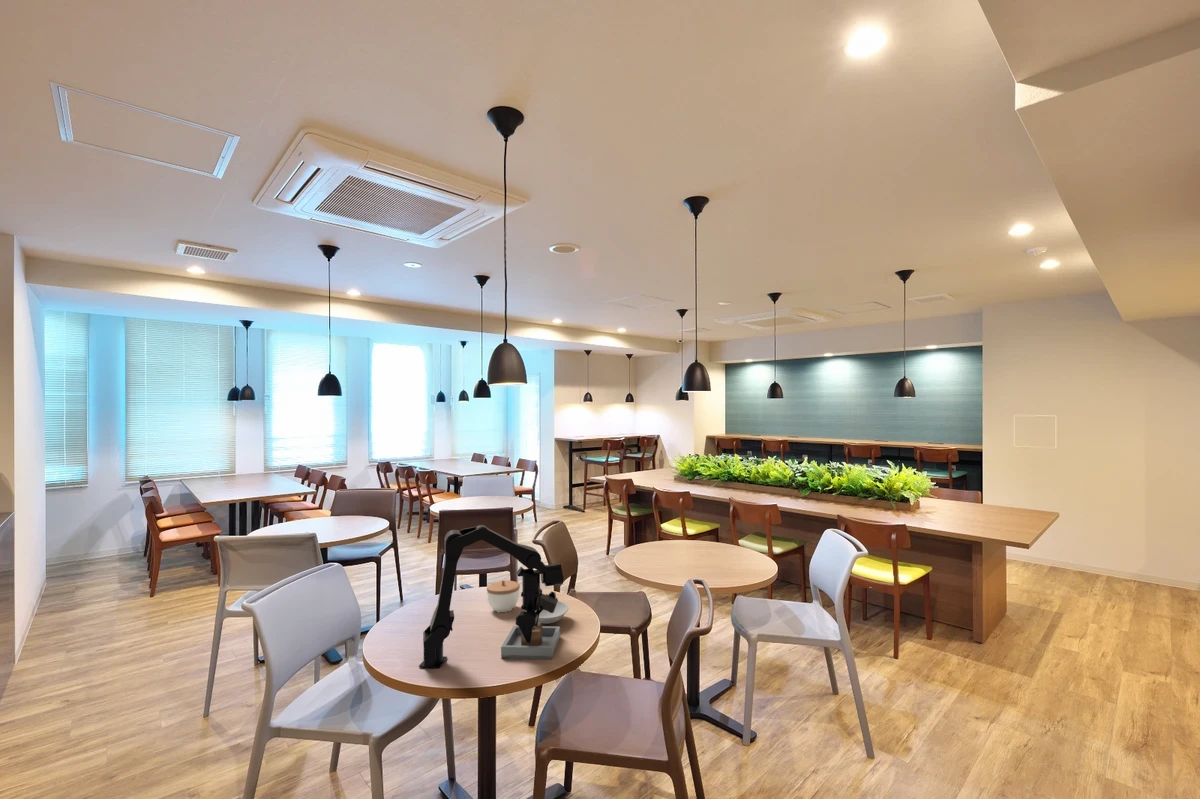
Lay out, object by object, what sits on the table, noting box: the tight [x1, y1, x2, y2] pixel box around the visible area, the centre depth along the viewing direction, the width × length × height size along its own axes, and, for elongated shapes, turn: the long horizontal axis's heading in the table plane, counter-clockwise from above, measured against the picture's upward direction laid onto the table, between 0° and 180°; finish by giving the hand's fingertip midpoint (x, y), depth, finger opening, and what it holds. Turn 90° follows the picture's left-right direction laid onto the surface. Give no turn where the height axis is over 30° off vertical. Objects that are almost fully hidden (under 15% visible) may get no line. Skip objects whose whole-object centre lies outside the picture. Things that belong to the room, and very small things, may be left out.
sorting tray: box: [500, 625, 561, 660], centre depth 168 cm, size 16×16×4 cm
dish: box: [538, 600, 570, 625], centre depth 187 cm, size 18×14×5 cm
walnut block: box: [521, 625, 543, 646], centre depth 168 cm, size 4×6×5 cm
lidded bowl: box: [486, 579, 521, 613], centre depth 201 cm, size 13×13×11 cm
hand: (531, 636), depth 168 cm, fingers open, 9 cm apart
